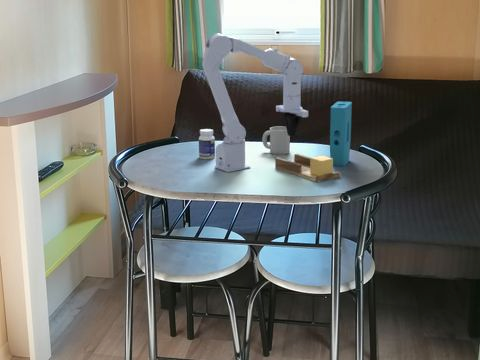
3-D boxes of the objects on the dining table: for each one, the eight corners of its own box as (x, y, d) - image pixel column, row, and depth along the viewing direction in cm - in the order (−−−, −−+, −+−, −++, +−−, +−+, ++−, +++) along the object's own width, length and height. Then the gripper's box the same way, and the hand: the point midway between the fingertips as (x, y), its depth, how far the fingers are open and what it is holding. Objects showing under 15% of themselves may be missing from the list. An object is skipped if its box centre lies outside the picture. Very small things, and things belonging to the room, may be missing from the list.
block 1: (320, 176, 210) (321, 161, 208) (310, 173, 214) (310, 157, 212) (332, 173, 213) (333, 158, 211) (321, 170, 217) (322, 155, 215)
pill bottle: (214, 159, 237) (214, 131, 234) (198, 159, 237) (197, 131, 234) (215, 155, 242) (214, 128, 239) (199, 155, 242) (198, 128, 240)
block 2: (343, 167, 224) (345, 108, 219) (328, 166, 226) (330, 107, 220) (350, 158, 235) (352, 102, 229) (336, 157, 237) (337, 101, 231)
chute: (317, 182, 208) (317, 171, 207) (275, 168, 225) (275, 157, 224) (339, 177, 213) (340, 166, 212) (297, 163, 230) (297, 153, 229)
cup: (288, 155, 241) (288, 130, 239) (260, 154, 243) (260, 130, 241) (290, 150, 248) (291, 126, 246) (264, 149, 250) (263, 125, 248)
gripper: (315, 96, 220) (314, 137, 224) (287, 91, 231) (287, 130, 235) (299, 98, 216) (298, 140, 220) (271, 93, 227) (271, 132, 231)
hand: (291, 135), depth 227 cm, fingers closed
